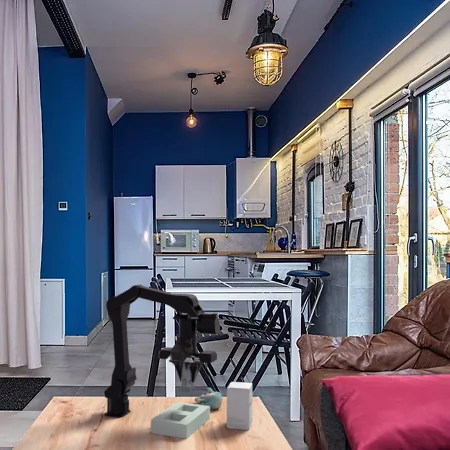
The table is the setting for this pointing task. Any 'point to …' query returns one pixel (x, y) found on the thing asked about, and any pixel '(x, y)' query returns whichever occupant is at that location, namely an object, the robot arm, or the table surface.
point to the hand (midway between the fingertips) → (187, 381)
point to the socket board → (180, 420)
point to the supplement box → (239, 405)
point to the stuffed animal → (210, 399)
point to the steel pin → (186, 375)
